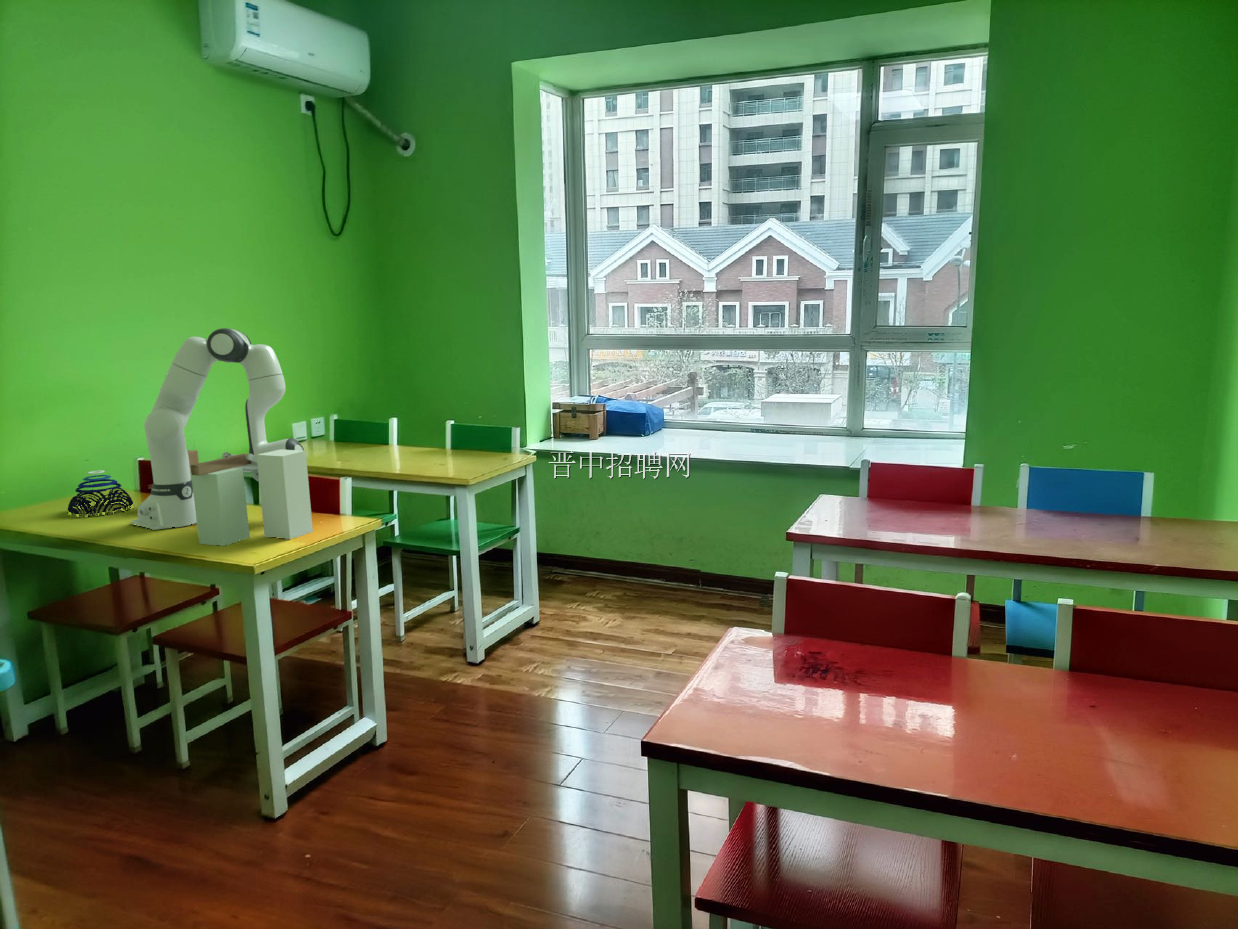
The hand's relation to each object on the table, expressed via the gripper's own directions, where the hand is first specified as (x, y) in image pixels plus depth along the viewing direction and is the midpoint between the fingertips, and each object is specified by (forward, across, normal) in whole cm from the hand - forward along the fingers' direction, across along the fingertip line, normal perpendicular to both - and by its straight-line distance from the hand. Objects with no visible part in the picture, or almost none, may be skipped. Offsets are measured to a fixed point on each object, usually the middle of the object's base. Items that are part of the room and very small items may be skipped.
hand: (235, 455), depth 261 cm
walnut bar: (+3, 0, +6) cm, 6 cm away
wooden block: (-34, -53, +10) cm, 64 cm away
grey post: (-16, +14, +20) cm, 29 cm away
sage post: (-6, 0, +26) cm, 27 cm away
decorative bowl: (-22, -76, +17) cm, 81 cm away
